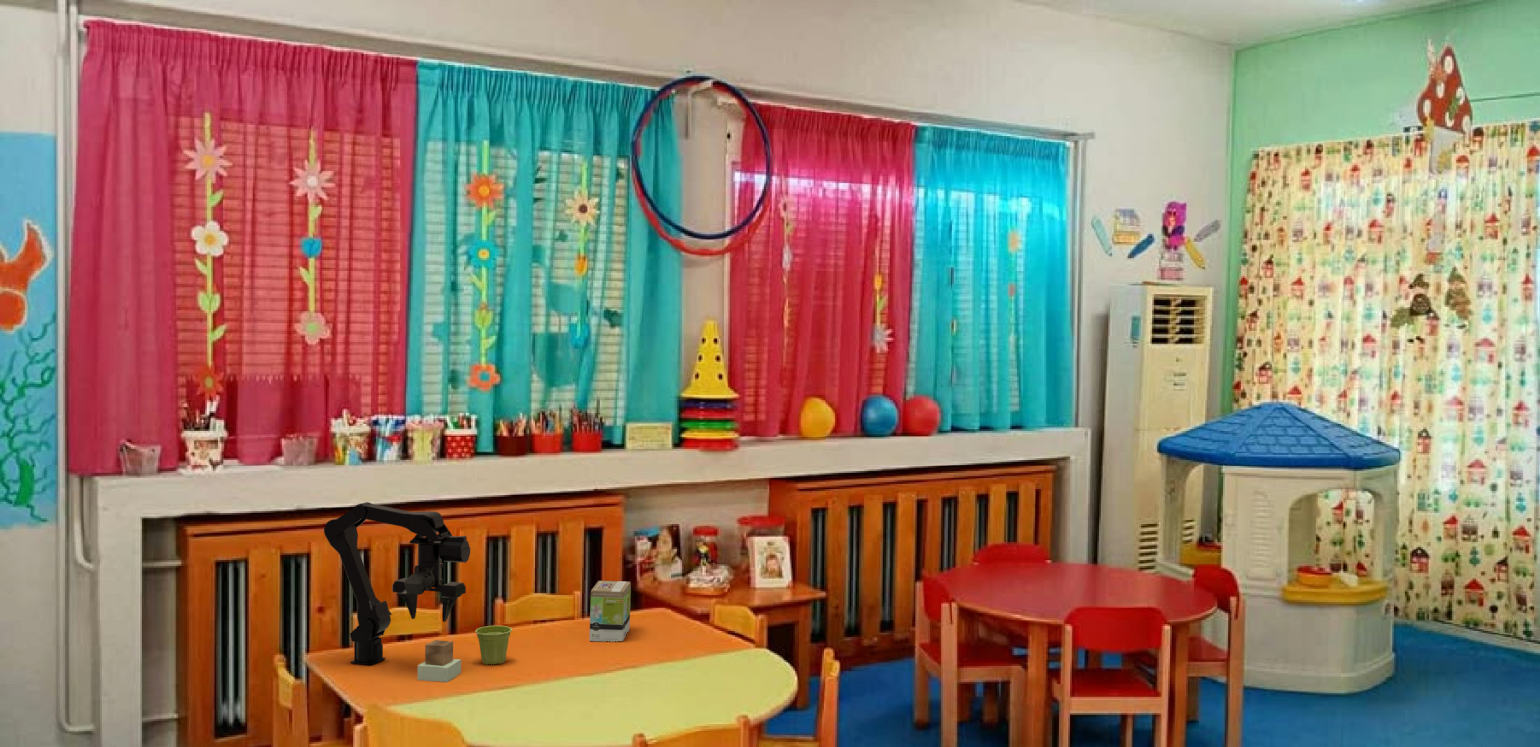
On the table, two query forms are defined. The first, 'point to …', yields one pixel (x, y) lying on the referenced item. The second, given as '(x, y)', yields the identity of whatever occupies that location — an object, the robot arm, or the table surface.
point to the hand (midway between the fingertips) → (428, 620)
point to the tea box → (610, 611)
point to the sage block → (439, 671)
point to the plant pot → (493, 643)
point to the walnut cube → (439, 652)
